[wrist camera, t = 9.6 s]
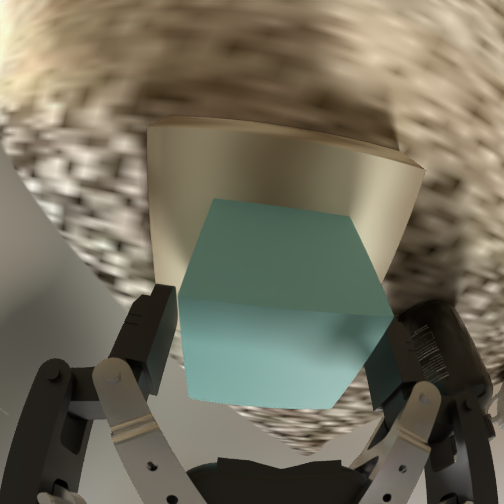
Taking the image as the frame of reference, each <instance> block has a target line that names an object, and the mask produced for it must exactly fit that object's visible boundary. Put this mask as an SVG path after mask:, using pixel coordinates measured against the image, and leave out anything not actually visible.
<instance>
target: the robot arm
mask: <svg viewBox="0 0 504 504" xmlns="http://www.w3.org/2000/svg"><path fill="white" fill-rule="evenodd" d="M392 312H393V315H394V318H393V319H392V321H391V323H390V324H389V326H388V328H387V329H386V331H385V333H384V334H383V336H382V337H381V339H380V341H379V342H378V344H377V345H376V347H375V348H374V350H373V351H372V353H371V354H370V356H369V357H368V359H367V360H366V362H365V363H364V366H365V371H366V375H367V380H368V385H369V390H370V395H371V400H372V405H373V411H374V412H375V411H383V412H384V416H383V417H382V418H381V420H380V422H379V424H378V426H377V427H376V429H375V431H374V433H373V435H372V436H371V438H370V440H369V442H368V443H367V445H366V446H365V448H364V450H363V451H362V453H361V454H360V455H359V456H358V457H357V458H356V459H355V460H354V461H353V462H352V464H351V465H350V466H349V468H347V467H344V466H342V465H341V460H333V461H315V462H309V463H306V464H302V465H298V466H294V467H289V468H285V469H279V468H275V467H271V466H267V465H263V464H260V463H256V462H253V461H250V460H238V459H228V458H219V457H218V461H217V462H216V463H208V464H203V465H200V466H197V467H194V468H192V469H190V470H188V471H187V472H185V470H184V469H183V467H182V466H181V464H180V462H179V461H178V459H177V458H176V456H175V454H174V453H173V451H172V449H171V447H170V446H169V444H168V442H167V440H166V439H165V437H164V435H163V433H162V431H161V430H160V428H159V426H158V424H157V422H156V420H155V419H154V417H153V415H152V413H151V411H150V409H149V407H148V405H147V399H148V396H149V394H151V395H156V396H157V394H158V390H159V386H160V382H161V379H162V375H163V372H164V368H165V365H166V361H167V358H168V354H169V351H170V347H171V344H172V340H173V337H174V334H175V330H176V327H177V321H178V307H177V294H176V287H175V286H171V285H164V284H158V283H157V284H156V285H155V287H154V289H153V291H152V293H151V296H149V295H143V294H142V295H141V296H140V297H139V298H138V299H137V300H136V301H134V302H133V304H132V306H131V308H130V310H129V313H128V315H127V317H126V319H125V321H124V322H125V323H124V324H123V326H122V328H121V330H120V332H119V335H118V337H117V339H116V341H115V344H114V346H113V348H112V351H111V353H110V355H109V357H108V358H107V359H104V360H102V361H100V362H99V363H98V364H97V365H96V366H94V367H86V368H70V367H69V365H68V364H67V363H66V362H65V361H64V360H61V359H56V358H54V359H50V360H47V361H46V362H45V363H43V364H42V365H41V367H40V368H39V370H38V372H37V375H36V377H35V380H34V382H33V384H32V387H31V389H30V392H29V395H28V397H27V400H26V402H25V405H24V408H23V410H22V413H21V416H20V419H19V422H18V425H17V428H16V431H15V434H14V437H13V441H12V444H11V448H10V451H9V455H8V458H7V462H6V466H5V471H4V475H3V479H2V484H1V489H0V504H87V503H86V501H85V500H84V499H83V498H82V497H81V496H80V495H79V494H77V493H78V487H79V482H80V477H81V472H82V467H83V462H84V457H85V453H86V449H87V444H88V440H89V436H90V432H91V428H92V424H93V420H95V419H107V421H108V423H109V426H110V429H111V432H112V433H111V437H112V440H113V443H114V445H115V448H116V450H117V452H118V454H119V456H120V459H121V461H122V463H123V465H124V467H125V469H126V471H127V473H128V475H129V477H130V479H131V481H132V483H133V485H134V486H135V488H136V490H137V492H138V494H139V495H140V497H141V499H142V501H143V502H144V504H406V503H407V502H408V500H409V498H410V496H411V494H412V492H413V490H414V488H415V486H416V484H417V482H418V480H419V477H420V475H421V473H422V470H423V469H425V479H426V489H427V504H498V494H497V486H496V478H495V471H494V465H493V459H492V454H491V449H490V444H489V440H488V435H487V431H486V427H485V423H484V419H483V415H482V412H481V408H480V405H479V402H478V399H477V398H476V396H475V395H474V394H472V393H471V392H468V391H463V392H461V393H460V394H459V395H458V396H456V397H455V398H454V397H450V396H445V395H441V394H440V392H439V390H438V389H437V388H436V386H434V385H433V384H432V383H430V382H426V379H425V376H424V373H423V370H422V367H421V364H420V361H419V358H418V356H417V353H416V352H415V347H414V345H413V344H412V339H411V337H410V334H409V331H408V330H407V329H406V328H405V326H404V325H403V324H402V323H401V322H398V321H397V318H396V316H395V313H394V311H393V310H392ZM453 434H454V436H455V442H456V447H457V452H458V456H457V460H456V462H455V461H454V455H453V449H452V443H451V438H450V436H452V435H453Z"/></svg>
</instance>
